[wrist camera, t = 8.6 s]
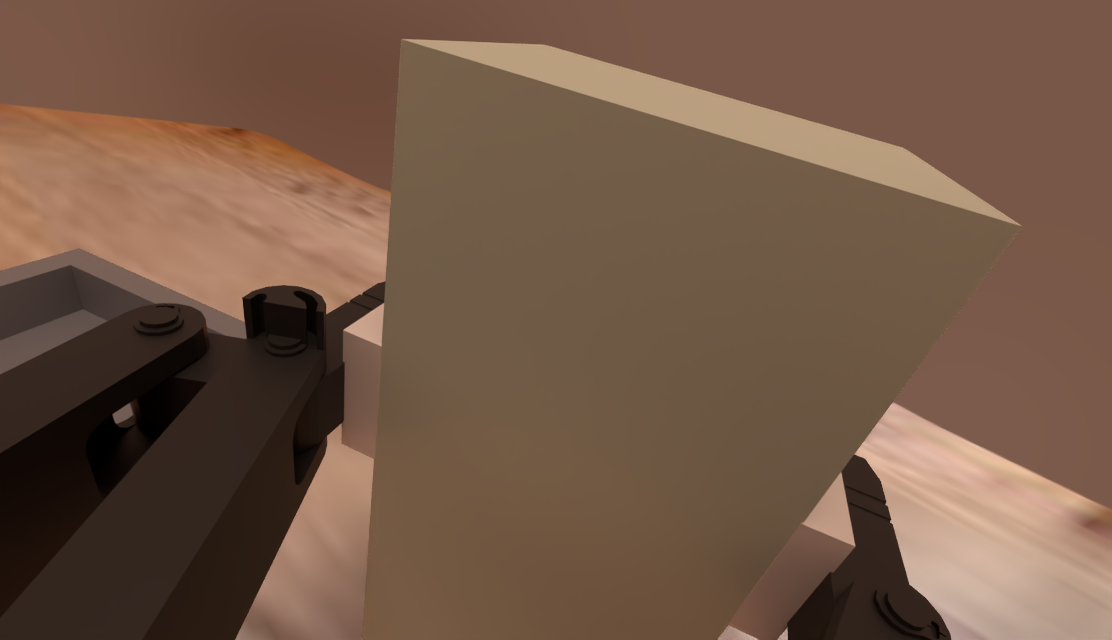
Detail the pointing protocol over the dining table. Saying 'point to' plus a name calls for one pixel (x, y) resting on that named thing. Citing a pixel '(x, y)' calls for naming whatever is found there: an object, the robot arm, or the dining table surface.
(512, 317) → the tan rectangular block
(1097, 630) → the dining table surface
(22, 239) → the dining table surface
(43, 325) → the grey tray
